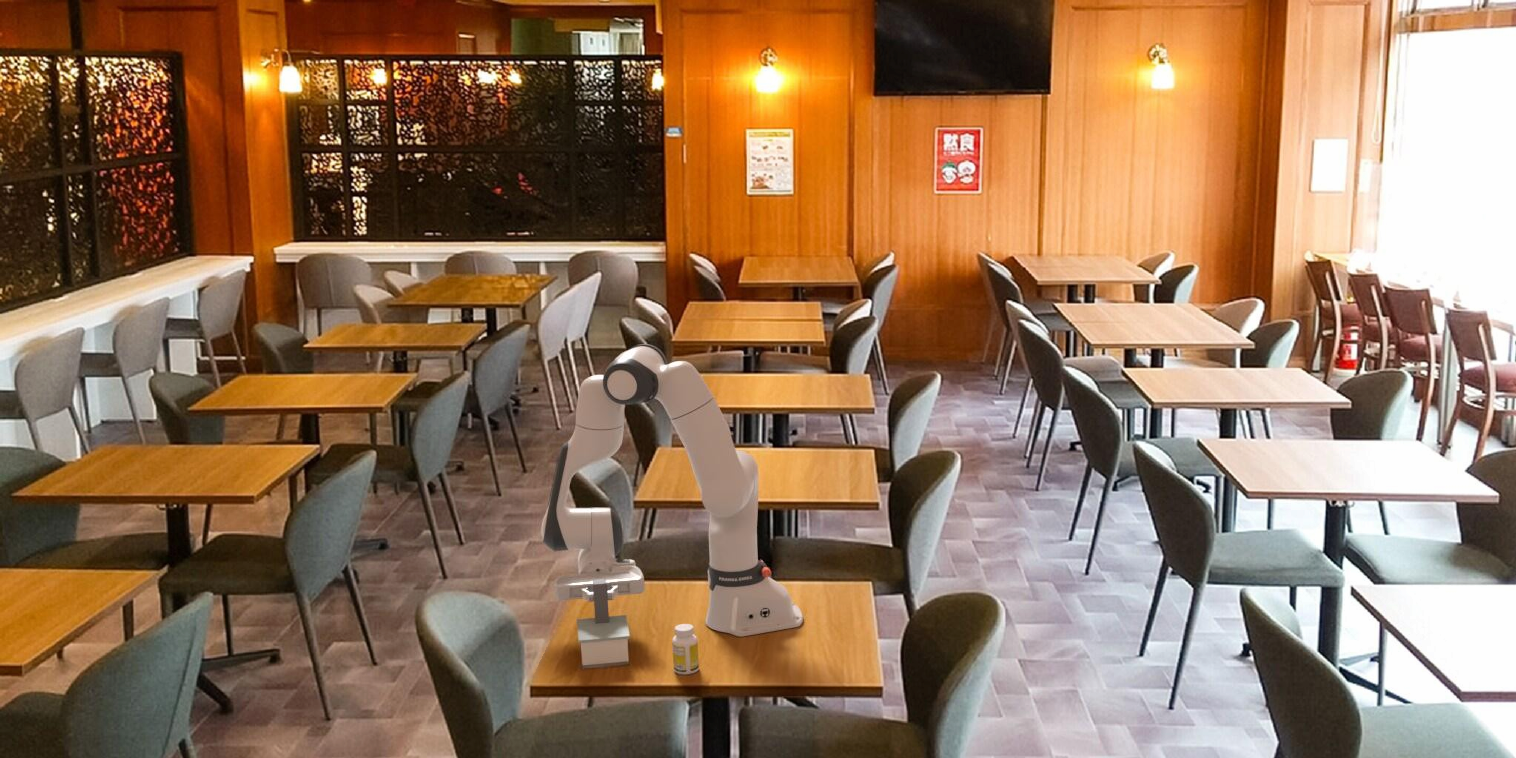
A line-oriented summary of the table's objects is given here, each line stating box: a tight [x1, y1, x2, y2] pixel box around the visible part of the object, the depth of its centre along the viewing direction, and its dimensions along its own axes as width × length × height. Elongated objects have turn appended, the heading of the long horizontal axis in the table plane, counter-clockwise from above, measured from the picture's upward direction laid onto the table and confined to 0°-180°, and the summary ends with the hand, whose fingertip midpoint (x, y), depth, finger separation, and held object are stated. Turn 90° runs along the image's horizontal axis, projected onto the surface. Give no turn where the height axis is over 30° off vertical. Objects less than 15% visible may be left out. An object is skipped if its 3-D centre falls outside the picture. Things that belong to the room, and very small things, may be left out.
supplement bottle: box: [671, 623, 700, 676], centre depth 307 cm, size 5×5×10 cm
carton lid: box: [576, 579, 631, 644], centre depth 314 cm, size 12×11×10 cm
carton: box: [580, 639, 630, 670], centre depth 315 cm, size 11×10×6 cm
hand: (600, 597), depth 316 cm, fingers closed on carton lid, 3 cm apart
